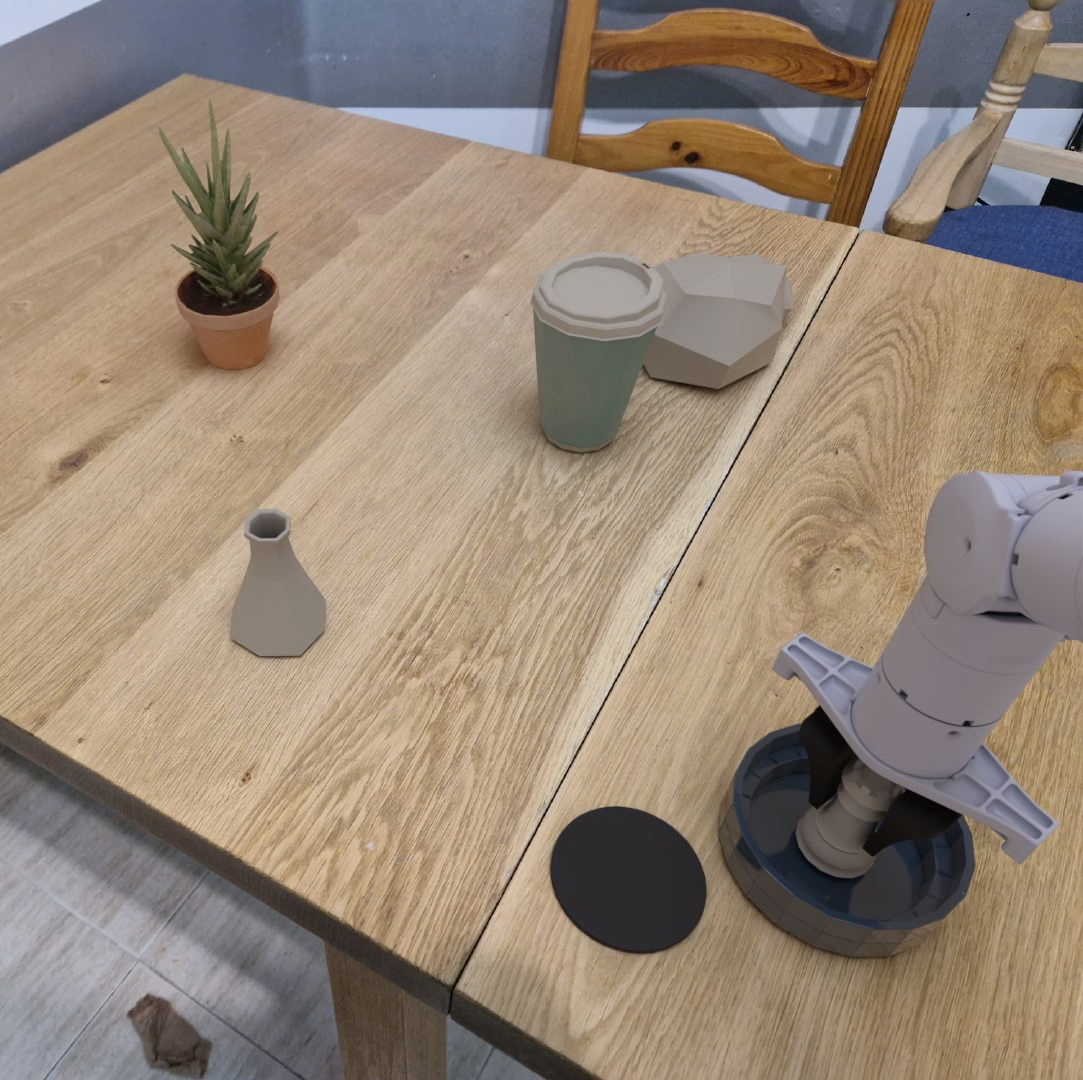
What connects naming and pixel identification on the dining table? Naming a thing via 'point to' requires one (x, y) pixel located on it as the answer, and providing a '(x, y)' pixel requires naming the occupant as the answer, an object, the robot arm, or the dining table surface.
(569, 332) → the disposable coffee cup
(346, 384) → the dining table surface
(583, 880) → the coaster
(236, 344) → the potted plant
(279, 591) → the flask
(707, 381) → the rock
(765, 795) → the bowl
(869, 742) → the robot arm
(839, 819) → the rook chess piece
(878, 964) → the dining table surface
